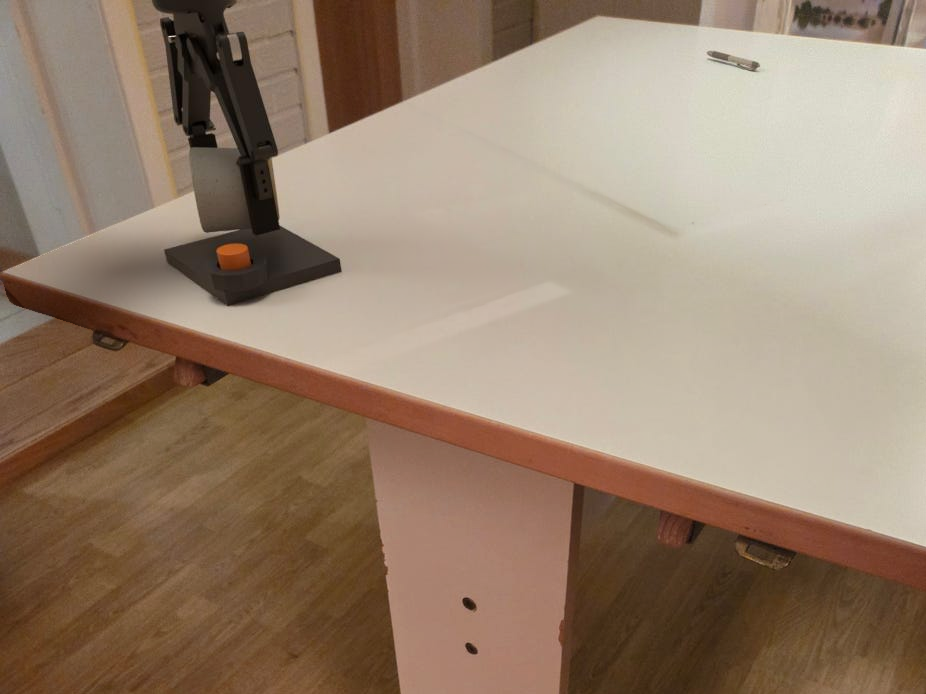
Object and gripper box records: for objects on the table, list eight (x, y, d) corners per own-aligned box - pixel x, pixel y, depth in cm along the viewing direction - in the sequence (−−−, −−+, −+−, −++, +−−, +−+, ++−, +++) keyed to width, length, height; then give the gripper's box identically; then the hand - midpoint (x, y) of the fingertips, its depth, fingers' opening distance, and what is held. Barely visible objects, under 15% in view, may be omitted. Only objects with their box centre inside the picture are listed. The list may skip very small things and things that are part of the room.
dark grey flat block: (163, 263, 94) (155, 234, 92) (274, 233, 99) (269, 205, 97) (227, 311, 84) (220, 280, 82) (346, 274, 90) (342, 245, 88)
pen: (756, 72, 149) (757, 62, 148) (703, 58, 158) (704, 49, 157) (760, 71, 150) (762, 62, 149) (708, 58, 159) (709, 48, 158)
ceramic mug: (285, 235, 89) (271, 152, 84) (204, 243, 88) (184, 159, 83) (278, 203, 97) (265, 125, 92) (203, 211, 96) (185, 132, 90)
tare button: (215, 266, 86) (211, 248, 85) (243, 259, 87) (239, 240, 86) (228, 275, 84) (224, 257, 83) (256, 267, 85) (252, 249, 84)
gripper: (96, -52, 82) (162, 197, 97) (201, -30, 68) (259, 257, 83) (172, -60, 85) (224, 183, 100) (286, -41, 71) (327, 238, 86)
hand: (240, 216), depth 92 cm, fingers closed on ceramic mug, 11 cm apart
